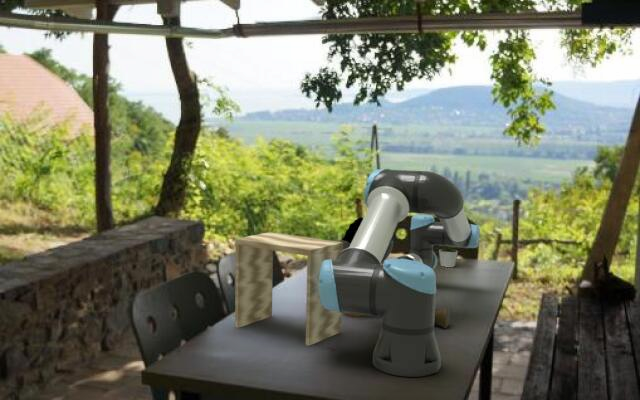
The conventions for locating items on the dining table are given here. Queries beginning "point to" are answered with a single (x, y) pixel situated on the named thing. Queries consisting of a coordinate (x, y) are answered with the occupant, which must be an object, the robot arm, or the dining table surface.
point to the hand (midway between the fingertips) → (372, 279)
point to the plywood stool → (258, 277)
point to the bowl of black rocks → (351, 233)
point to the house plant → (448, 256)
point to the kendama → (442, 317)
